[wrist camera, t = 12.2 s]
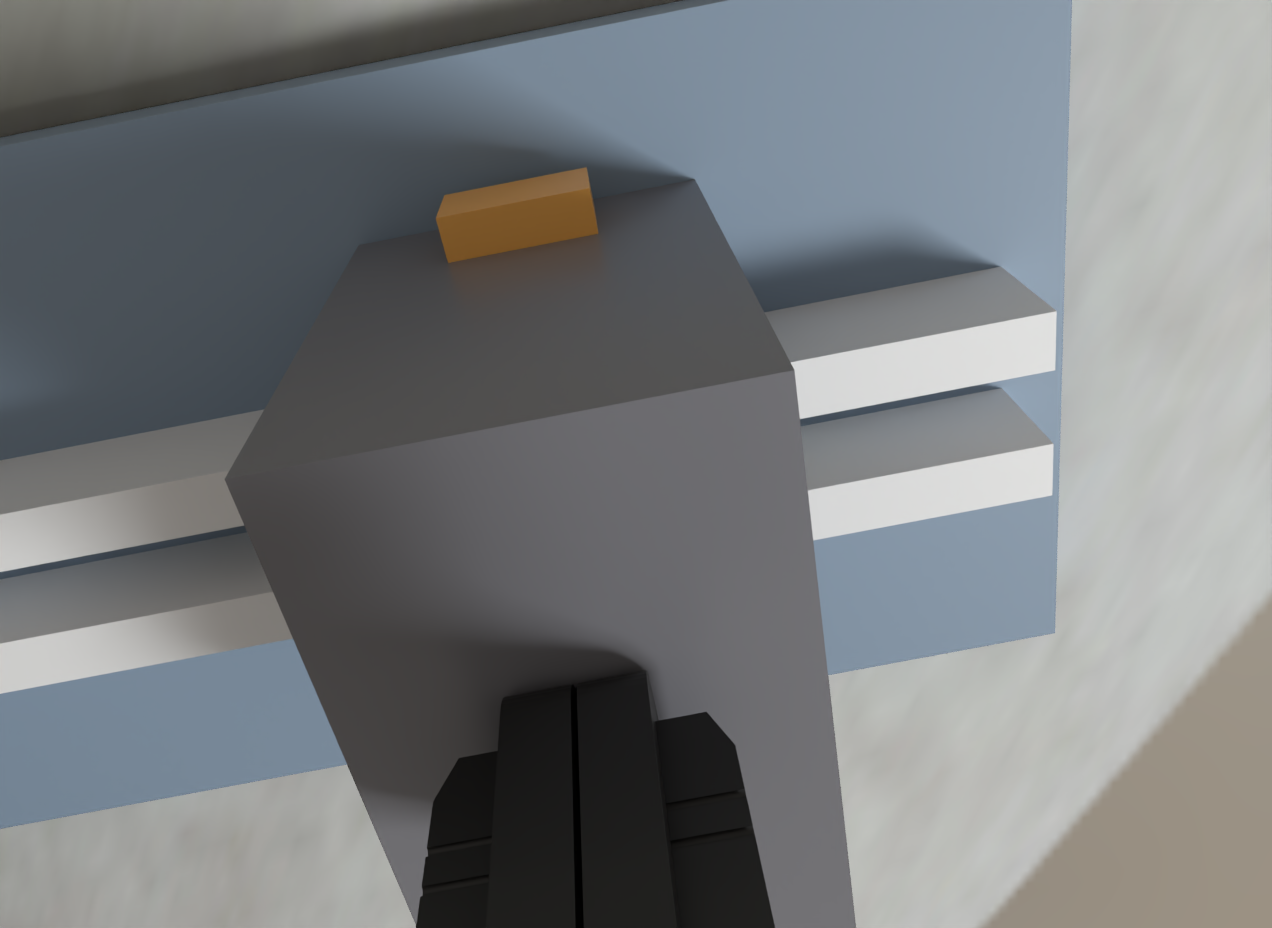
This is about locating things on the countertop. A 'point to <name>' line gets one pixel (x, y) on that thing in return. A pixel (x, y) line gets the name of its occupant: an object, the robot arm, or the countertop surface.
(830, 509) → the mounting plate
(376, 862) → the countertop surface
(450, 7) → the countertop surface
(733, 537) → the DIN module
